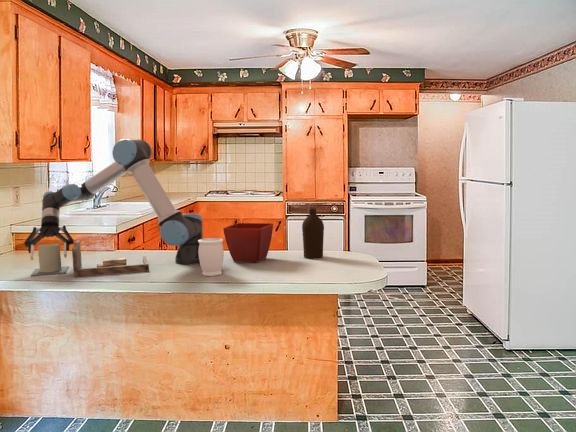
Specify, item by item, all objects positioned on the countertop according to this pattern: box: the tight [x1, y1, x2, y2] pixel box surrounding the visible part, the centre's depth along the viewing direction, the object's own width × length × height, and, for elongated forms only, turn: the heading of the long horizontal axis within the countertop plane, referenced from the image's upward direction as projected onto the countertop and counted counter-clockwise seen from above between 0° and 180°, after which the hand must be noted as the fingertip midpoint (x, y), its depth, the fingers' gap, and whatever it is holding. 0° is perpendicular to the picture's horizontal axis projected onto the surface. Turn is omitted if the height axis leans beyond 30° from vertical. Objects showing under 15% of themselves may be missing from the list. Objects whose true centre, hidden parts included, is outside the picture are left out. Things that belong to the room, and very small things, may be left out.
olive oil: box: [301, 205, 325, 260], centre depth 253 cm, size 11×11×25 cm
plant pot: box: [223, 222, 274, 263], centre depth 249 cm, size 19×19×17 cm
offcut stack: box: [96, 257, 127, 268], centre depth 232 cm, size 15×5×5 cm, turn 113°
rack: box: [71, 239, 150, 278], centre depth 237 cm, size 31×26×12 cm
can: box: [37, 242, 63, 272], centre depth 232 cm, size 9×9×12 cm
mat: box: [30, 265, 69, 277], centre depth 232 cm, size 14×14×1 cm
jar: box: [198, 237, 225, 277], centre depth 220 cm, size 11×10×15 cm
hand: (48, 257), depth 229 cm, fingers open, 13 cm apart
